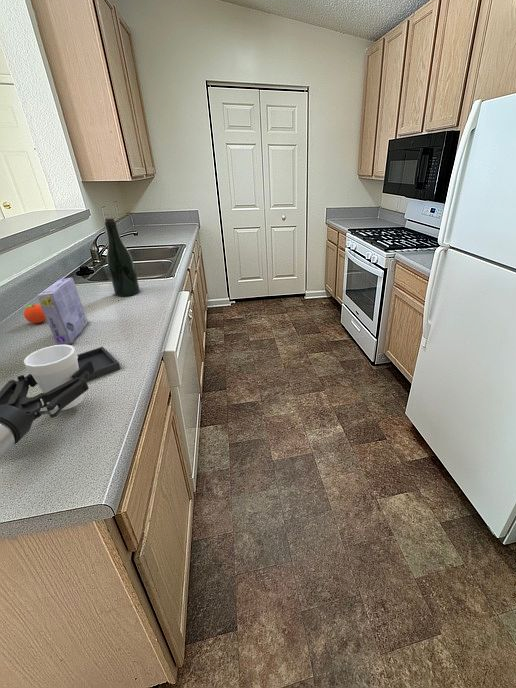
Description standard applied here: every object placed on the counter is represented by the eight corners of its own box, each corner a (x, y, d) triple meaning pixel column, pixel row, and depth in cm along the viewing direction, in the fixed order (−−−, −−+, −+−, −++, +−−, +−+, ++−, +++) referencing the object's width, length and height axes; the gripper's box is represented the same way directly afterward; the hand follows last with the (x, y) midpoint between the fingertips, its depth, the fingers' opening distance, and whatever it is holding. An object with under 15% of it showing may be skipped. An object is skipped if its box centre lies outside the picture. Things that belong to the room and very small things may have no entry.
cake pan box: (75, 322, 124) (59, 277, 116) (90, 321, 125) (75, 275, 117) (55, 346, 107) (35, 295, 99) (72, 344, 108) (54, 294, 101)
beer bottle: (144, 292, 153) (127, 217, 138) (121, 298, 146) (101, 220, 131) (134, 287, 159) (116, 215, 144) (111, 293, 152) (90, 218, 137)
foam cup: (96, 387, 84) (81, 343, 78) (82, 411, 76) (63, 363, 70) (56, 391, 83) (37, 346, 77) (36, 416, 75) (13, 368, 69)
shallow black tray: (53, 369, 95) (51, 363, 94) (104, 352, 104) (102, 346, 103) (66, 389, 87) (63, 382, 86) (120, 368, 95) (118, 362, 95)
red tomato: (21, 328, 120) (14, 310, 117) (27, 320, 126) (20, 303, 123) (47, 324, 123) (40, 306, 120) (52, 317, 128) (46, 300, 125)
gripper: (-56, 449, 62) (30, 379, 82) (63, 447, 62) (119, 378, 82) (-77, 418, 58) (18, 353, 78) (49, 416, 59) (112, 352, 79)
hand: (70, 365), depth 80 cm, fingers closed on foam cup, 9 cm apart
